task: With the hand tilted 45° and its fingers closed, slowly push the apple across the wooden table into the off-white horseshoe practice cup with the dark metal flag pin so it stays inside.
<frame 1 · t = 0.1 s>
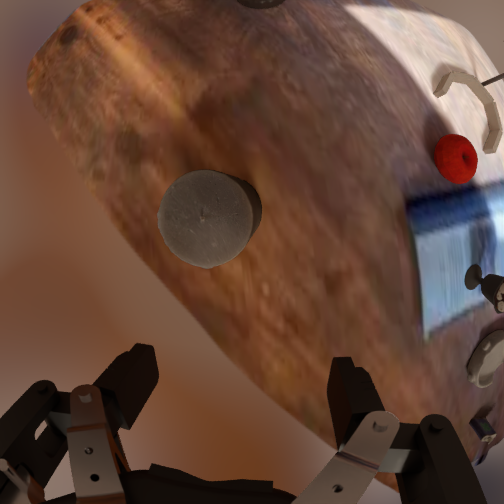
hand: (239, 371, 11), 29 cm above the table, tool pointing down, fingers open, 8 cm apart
dish: (485, 353, 41), on the table
pillar candle: (227, 210, 39), on the table
apple: (443, 160, 34), on the table
practice cup: (466, 114, 32), on the table
sundae: (472, 277, 38), on the table
flask: (476, 420, 46), on the table
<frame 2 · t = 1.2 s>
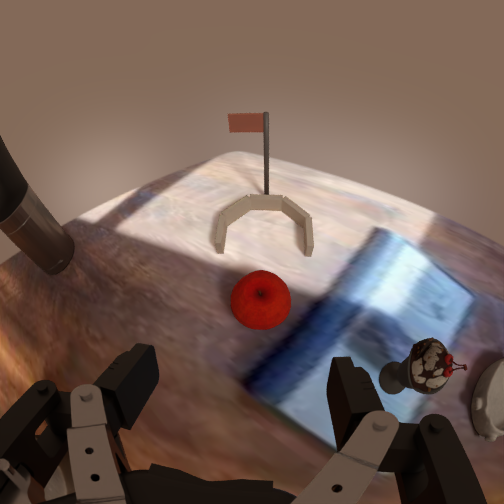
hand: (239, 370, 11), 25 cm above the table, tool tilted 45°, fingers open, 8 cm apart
dish: (490, 400, 26), on the table
pillar candle: (96, 463, 26), on the table
apple: (261, 310, 39), on the table
practice cup: (264, 240, 45), on the table
sundae: (393, 378, 32), on the table
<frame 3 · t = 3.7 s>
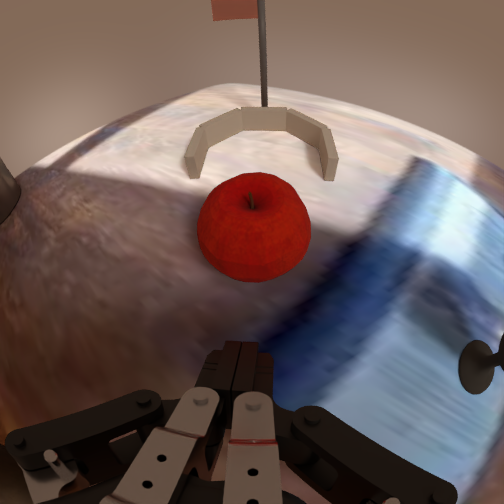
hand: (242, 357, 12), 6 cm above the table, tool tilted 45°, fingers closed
pillar candle: (11, 484, 9), on the table
apple: (256, 256, 22), on the table
practice cup: (262, 161, 29), on the table
sundae: (476, 367, 15), on the table
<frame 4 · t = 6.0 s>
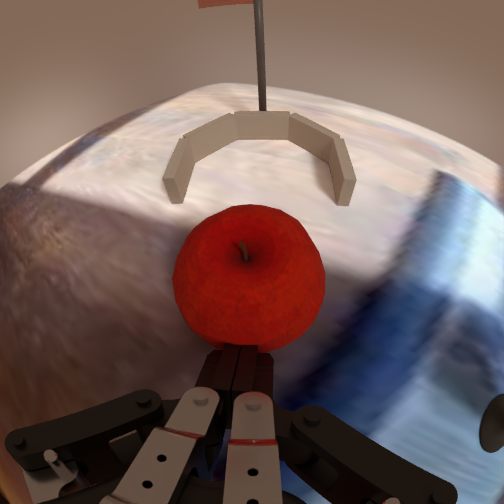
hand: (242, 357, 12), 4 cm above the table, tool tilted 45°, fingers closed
apple: (253, 305, 18), on the table, touching gripper
practice cup: (260, 179, 24), on the table
sundae: (497, 423, 10), on the table
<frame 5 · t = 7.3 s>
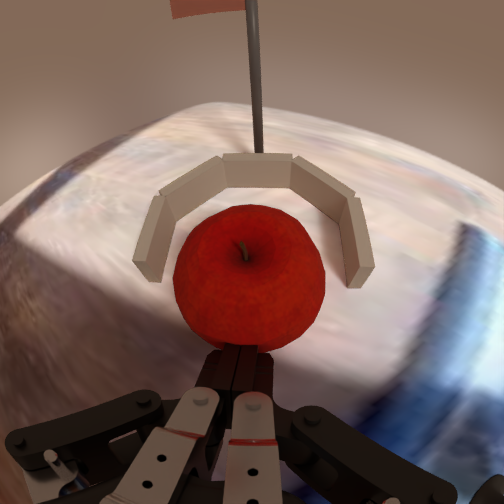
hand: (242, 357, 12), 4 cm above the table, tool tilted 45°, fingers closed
apple: (253, 305, 18), on the table, touching gripper
practice cup: (254, 251, 20), on the table
sundae: (485, 500, 6), on the table
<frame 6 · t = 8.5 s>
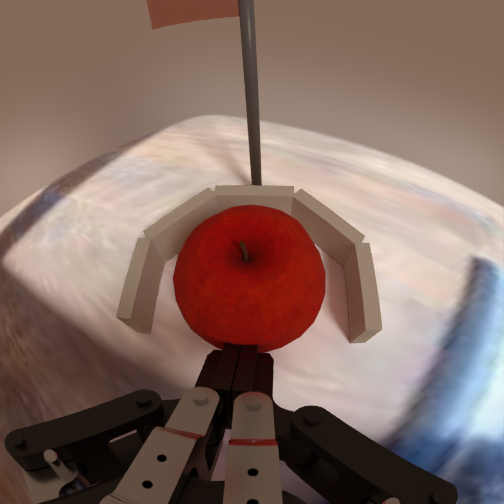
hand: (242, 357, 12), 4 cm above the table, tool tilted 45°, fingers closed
apple: (253, 306, 18), on the table, touching gripper
practice cup: (249, 301, 18), on the table
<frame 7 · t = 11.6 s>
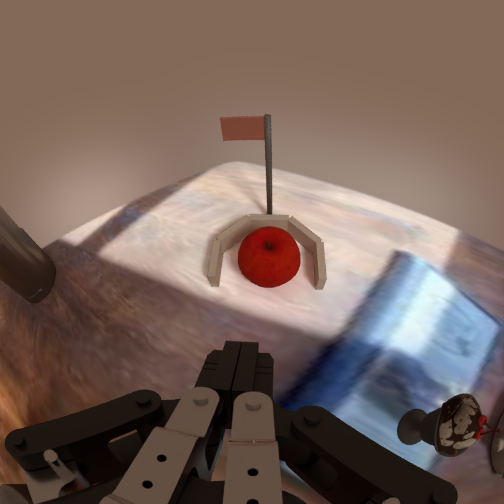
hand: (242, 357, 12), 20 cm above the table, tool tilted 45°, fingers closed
apple: (269, 272, 38), on the table
practice cup: (267, 270, 38), on the table
sundae: (413, 427, 24), on the table
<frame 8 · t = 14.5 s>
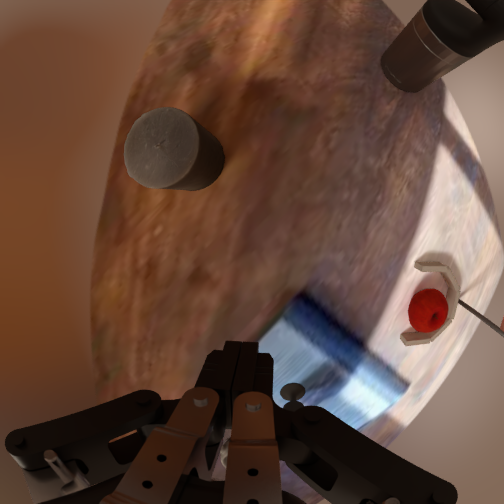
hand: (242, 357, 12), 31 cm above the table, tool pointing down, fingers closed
pillar candle: (194, 159, 41), on the table
apple: (418, 302, 43), on the table
practice cup: (420, 301, 42), on the table
sundae: (292, 391, 48), on the table
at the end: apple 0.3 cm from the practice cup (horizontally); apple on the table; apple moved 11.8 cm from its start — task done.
